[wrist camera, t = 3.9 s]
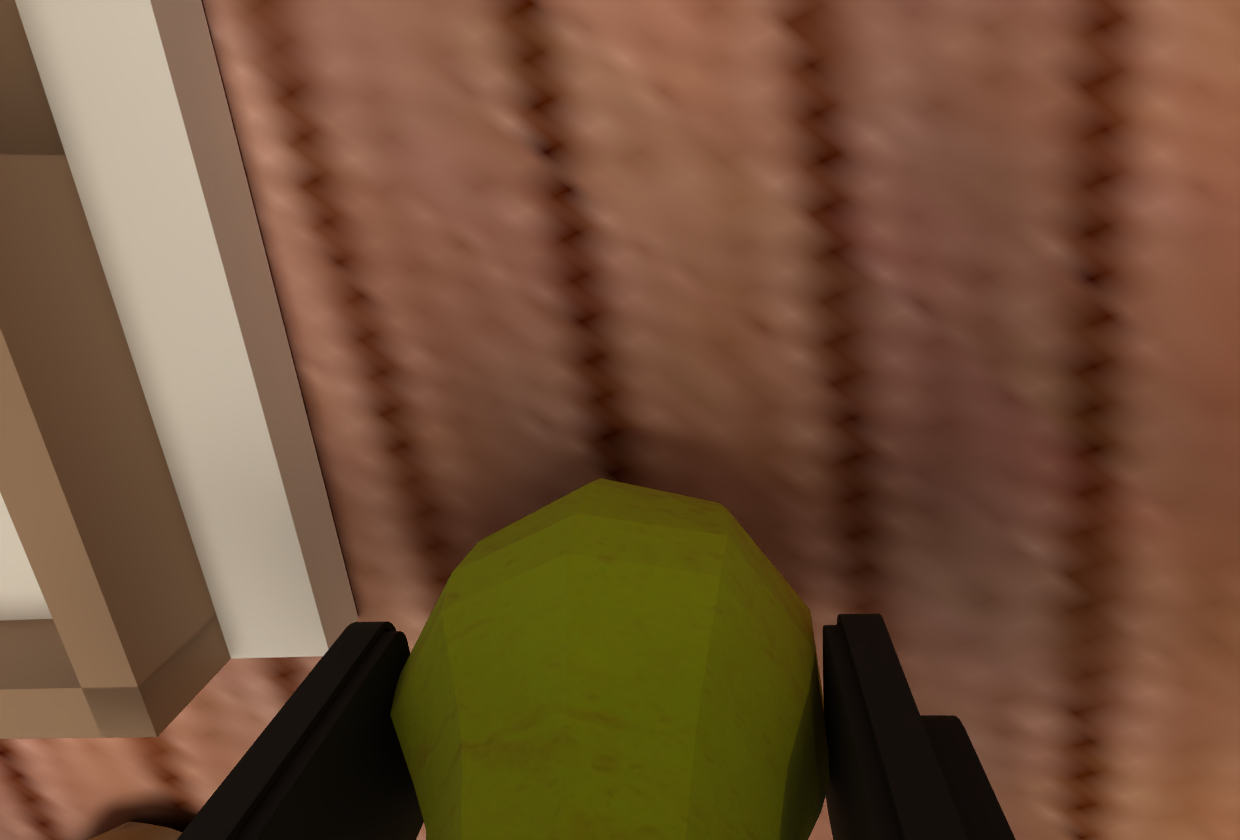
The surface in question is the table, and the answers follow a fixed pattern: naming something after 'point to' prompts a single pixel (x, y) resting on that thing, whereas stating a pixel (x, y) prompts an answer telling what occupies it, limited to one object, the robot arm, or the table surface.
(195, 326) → the tray
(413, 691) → the fruit
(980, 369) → the table surface
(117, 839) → the pastry
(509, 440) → the table surface
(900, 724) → the robot arm
